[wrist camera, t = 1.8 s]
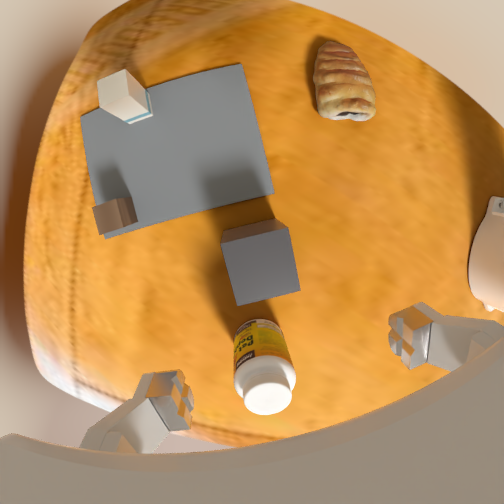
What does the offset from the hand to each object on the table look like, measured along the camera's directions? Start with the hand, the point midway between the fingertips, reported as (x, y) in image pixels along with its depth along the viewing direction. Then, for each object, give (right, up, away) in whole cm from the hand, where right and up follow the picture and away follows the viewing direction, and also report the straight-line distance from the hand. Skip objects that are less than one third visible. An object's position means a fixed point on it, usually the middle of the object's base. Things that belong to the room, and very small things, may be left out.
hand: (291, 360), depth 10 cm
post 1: (-13, +18, +14) cm, 26 cm away
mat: (-10, +14, +15) cm, 23 cm away
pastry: (+8, +21, +15) cm, 27 cm away
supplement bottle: (-1, -6, +21) cm, 22 cm away
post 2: (-14, +8, +16) cm, 23 cm away
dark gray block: (-1, +4, +18) cm, 19 cm away
